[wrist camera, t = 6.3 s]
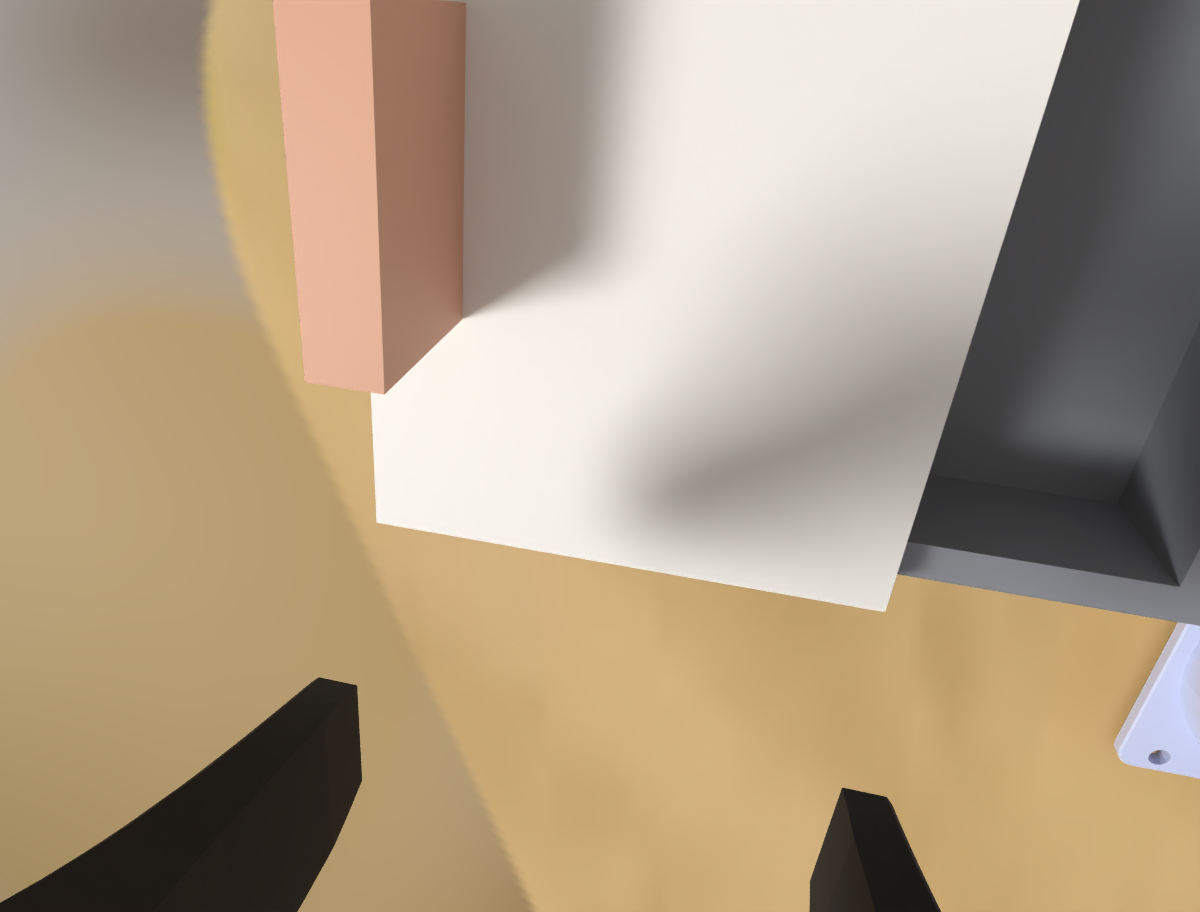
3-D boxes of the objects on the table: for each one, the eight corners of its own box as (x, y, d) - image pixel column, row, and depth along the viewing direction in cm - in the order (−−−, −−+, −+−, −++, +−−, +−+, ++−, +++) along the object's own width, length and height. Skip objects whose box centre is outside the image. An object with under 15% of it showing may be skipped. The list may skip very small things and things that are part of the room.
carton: (1468, -218, 13) (1723, -306, 10) (1127, 521, 20) (1206, 626, 16) (834, -257, 14) (857, -350, 11) (710, 454, 21) (700, 540, 17)
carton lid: (1175, -367, 10) (1423, -604, 6) (879, 587, 17) (914, 749, 13) (360, -405, 11) (156, -624, 7) (392, 503, 18) (293, 629, 14)
